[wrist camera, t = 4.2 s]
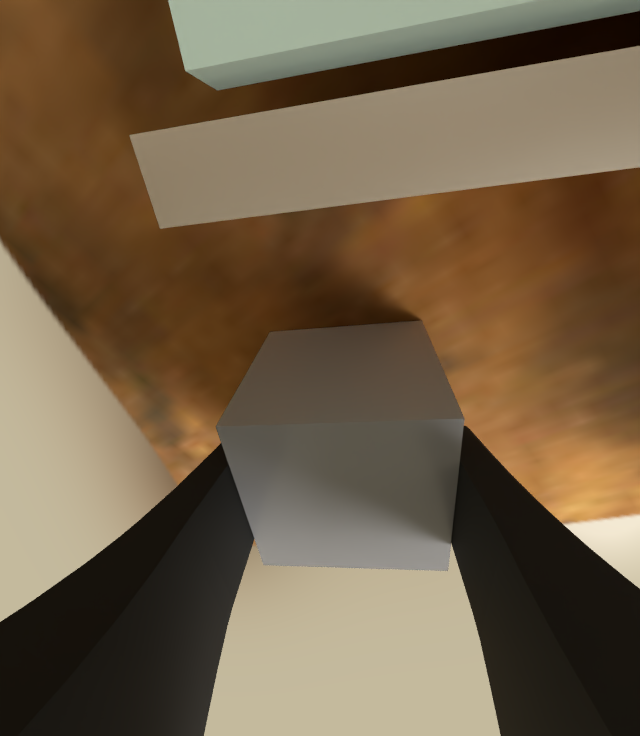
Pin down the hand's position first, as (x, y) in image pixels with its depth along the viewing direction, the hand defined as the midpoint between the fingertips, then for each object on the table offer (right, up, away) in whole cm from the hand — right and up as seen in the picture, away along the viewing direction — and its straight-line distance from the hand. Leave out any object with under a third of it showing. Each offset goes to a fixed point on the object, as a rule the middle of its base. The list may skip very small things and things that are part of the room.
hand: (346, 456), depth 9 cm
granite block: (0, +2, +3) cm, 3 cm away
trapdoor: (+3, +12, -8) cm, 15 cm away
